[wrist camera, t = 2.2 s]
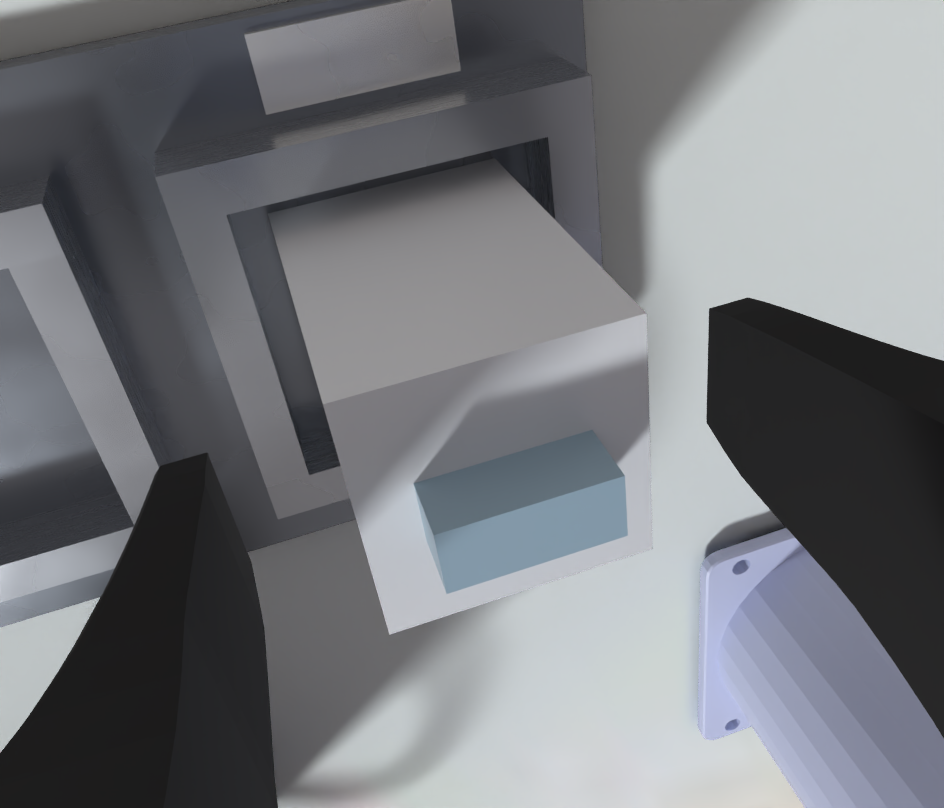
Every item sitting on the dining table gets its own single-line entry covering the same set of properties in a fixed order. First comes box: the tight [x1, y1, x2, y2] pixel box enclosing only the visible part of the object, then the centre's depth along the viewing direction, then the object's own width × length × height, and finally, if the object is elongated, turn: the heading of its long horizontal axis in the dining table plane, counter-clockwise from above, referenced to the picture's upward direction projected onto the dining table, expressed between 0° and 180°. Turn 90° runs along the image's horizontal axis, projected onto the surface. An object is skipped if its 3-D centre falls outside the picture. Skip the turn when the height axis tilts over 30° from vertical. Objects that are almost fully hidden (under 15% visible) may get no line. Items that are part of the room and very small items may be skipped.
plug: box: [268, 158, 653, 635], centre depth 14 cm, size 4×4×7 cm
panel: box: [0, 0, 603, 627], centre depth 16 cm, size 16×10×2 cm, turn 96°
